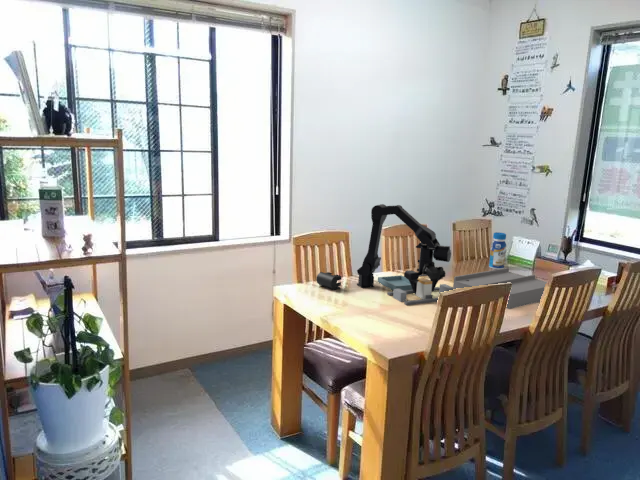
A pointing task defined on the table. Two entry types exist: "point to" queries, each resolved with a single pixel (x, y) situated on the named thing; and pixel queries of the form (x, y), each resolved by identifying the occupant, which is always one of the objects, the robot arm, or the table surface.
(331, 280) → the electric motor
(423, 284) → the fuse
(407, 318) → the table surface
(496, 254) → the beverage bottle
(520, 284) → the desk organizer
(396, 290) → the fuse holder
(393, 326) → the table surface
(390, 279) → the tray
